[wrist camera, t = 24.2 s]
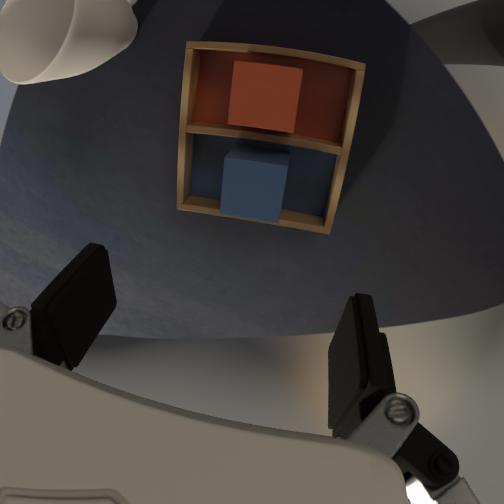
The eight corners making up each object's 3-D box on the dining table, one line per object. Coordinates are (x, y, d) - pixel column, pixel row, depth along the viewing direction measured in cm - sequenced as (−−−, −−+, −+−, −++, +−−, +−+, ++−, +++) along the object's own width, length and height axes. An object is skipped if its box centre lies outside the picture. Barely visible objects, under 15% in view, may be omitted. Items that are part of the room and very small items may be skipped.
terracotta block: (238, 116, 24) (227, 123, 20) (245, 63, 21) (234, 60, 17) (294, 124, 23) (293, 133, 20) (302, 71, 21) (303, 69, 17)
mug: (112, 90, 24) (24, 111, 14) (68, 38, 21) (-20, 43, 11) (211, -1, 19) (154, -45, 9) (156, -51, 16) (85, -95, 6)
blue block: (231, 193, 27) (219, 214, 23) (236, 143, 25) (224, 156, 21) (281, 201, 27) (278, 223, 23) (289, 151, 24) (288, 166, 21)
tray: (197, 44, 21) (186, 41, 19) (359, 65, 21) (366, 63, 18) (186, 197, 29) (176, 209, 26) (327, 220, 28) (329, 234, 26)
